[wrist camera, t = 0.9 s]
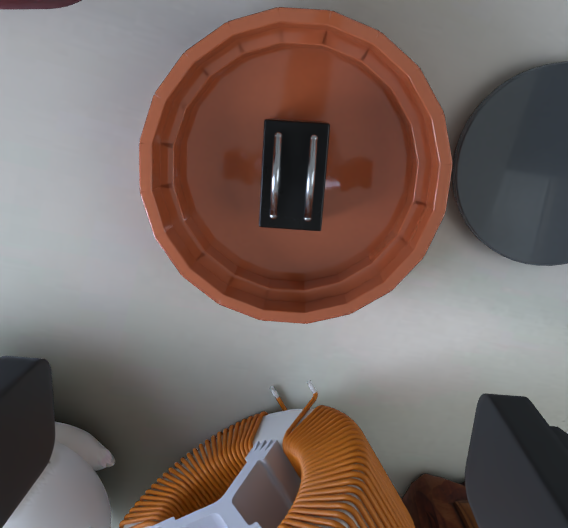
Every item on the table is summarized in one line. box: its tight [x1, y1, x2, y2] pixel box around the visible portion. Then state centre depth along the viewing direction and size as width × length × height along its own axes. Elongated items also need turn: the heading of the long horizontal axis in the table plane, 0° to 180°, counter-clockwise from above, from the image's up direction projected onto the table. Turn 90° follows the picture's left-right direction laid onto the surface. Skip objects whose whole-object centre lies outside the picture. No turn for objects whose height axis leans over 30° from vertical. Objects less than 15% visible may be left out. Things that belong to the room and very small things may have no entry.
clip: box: [259, 118, 330, 231], centre depth 26 cm, size 5×3×3 cm, turn 176°
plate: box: [452, 62, 568, 266], centre depth 27 cm, size 10×10×1 cm
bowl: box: [139, 7, 453, 324], centre depth 26 cm, size 14×14×4 cm
